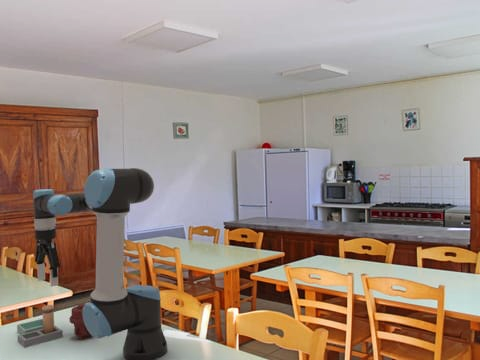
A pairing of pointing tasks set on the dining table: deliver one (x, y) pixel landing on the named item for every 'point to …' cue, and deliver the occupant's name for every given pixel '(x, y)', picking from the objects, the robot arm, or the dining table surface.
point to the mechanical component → (79, 322)
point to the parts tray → (30, 326)
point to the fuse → (48, 319)
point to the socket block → (38, 337)
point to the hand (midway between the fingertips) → (47, 283)
